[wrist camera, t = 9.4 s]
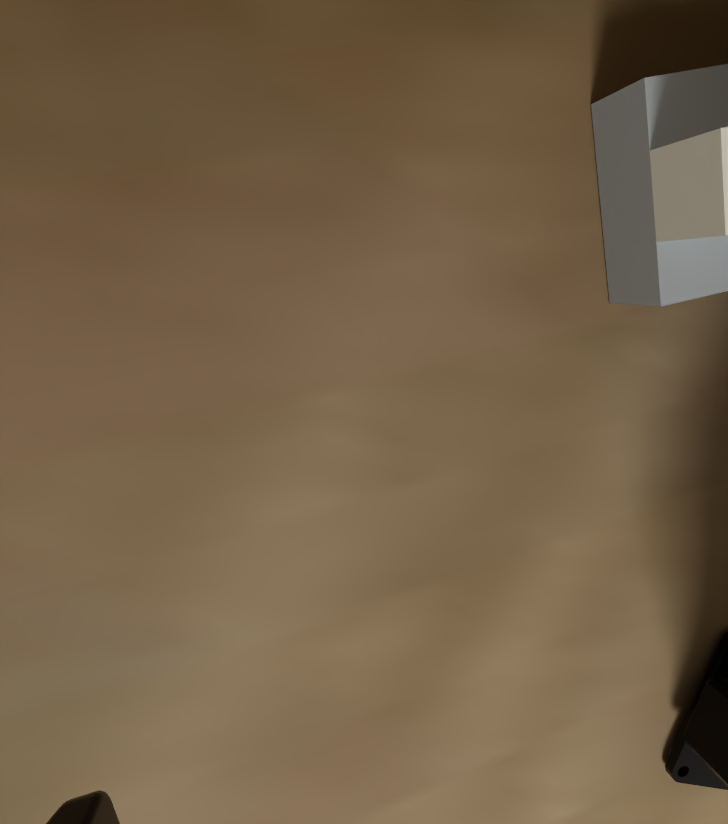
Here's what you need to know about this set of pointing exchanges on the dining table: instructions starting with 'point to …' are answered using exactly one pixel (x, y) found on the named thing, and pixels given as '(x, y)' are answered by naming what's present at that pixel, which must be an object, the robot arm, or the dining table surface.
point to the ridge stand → (664, 186)
